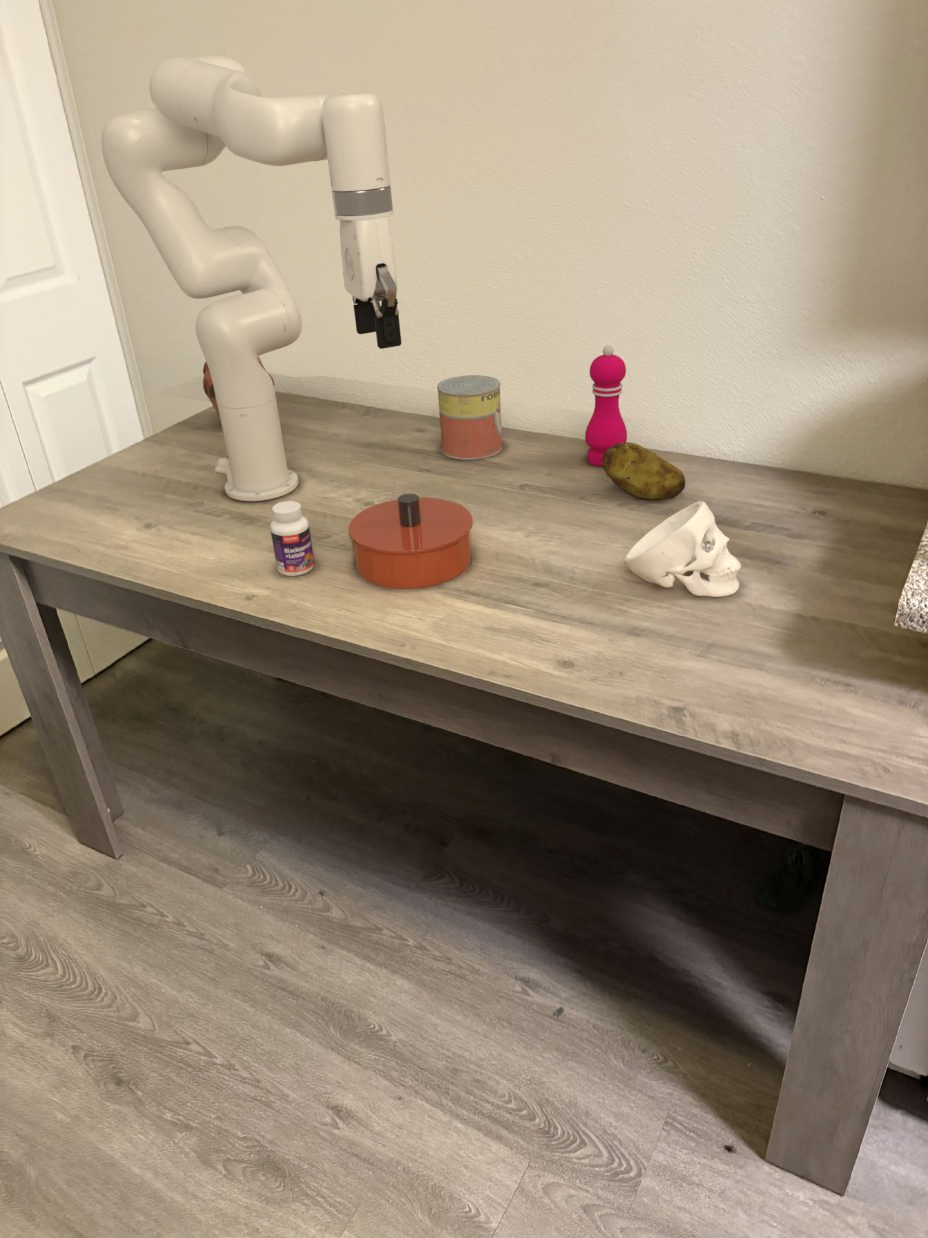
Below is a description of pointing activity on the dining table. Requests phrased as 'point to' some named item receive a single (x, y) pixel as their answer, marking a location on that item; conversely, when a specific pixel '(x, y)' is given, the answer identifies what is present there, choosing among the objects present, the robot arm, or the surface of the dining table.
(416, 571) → the pot
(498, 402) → the canned food
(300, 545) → the pill bottle
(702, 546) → the skull bowl
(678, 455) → the dining table surface
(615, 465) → the potato
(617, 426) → the pepper mill
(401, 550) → the lid
